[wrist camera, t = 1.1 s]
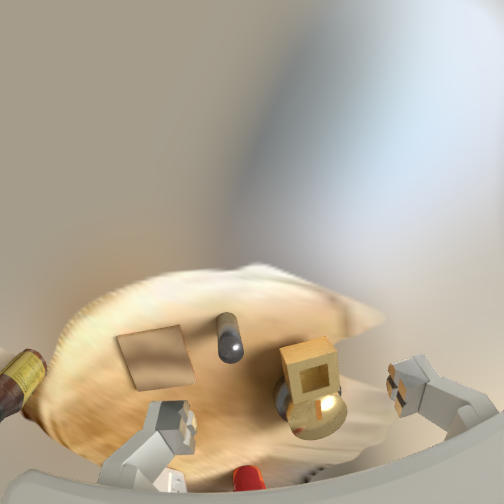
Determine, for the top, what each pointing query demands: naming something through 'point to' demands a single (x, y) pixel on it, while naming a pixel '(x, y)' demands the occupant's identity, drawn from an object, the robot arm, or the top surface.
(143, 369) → the wooden mat
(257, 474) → the paper cup
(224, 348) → the steel cylinder
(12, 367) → the sauce bottle
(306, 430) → the chuck collar
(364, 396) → the top surface
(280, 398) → the chuck base
